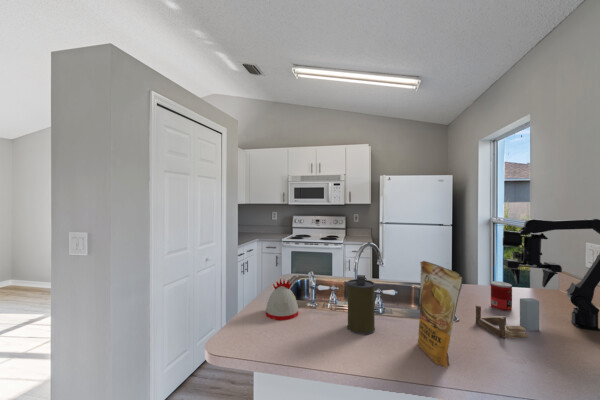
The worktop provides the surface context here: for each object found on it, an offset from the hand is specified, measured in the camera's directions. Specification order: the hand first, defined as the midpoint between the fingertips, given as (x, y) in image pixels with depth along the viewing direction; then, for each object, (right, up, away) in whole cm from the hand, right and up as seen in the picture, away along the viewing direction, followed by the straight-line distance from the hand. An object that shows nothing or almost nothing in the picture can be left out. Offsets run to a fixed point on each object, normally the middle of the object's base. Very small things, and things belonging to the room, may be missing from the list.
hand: (530, 285), depth 121 cm
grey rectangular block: (-9, -13, -11) cm, 20 cm away
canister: (-74, -13, -11) cm, 76 cm away
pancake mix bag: (-54, -13, -30) cm, 63 cm away
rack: (-19, -13, -12) cm, 26 cm away
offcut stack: (-19, -13, -17) cm, 29 cm away
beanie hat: (-105, -13, +3) cm, 106 cm away
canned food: (-5, -13, +10) cm, 18 cm away
